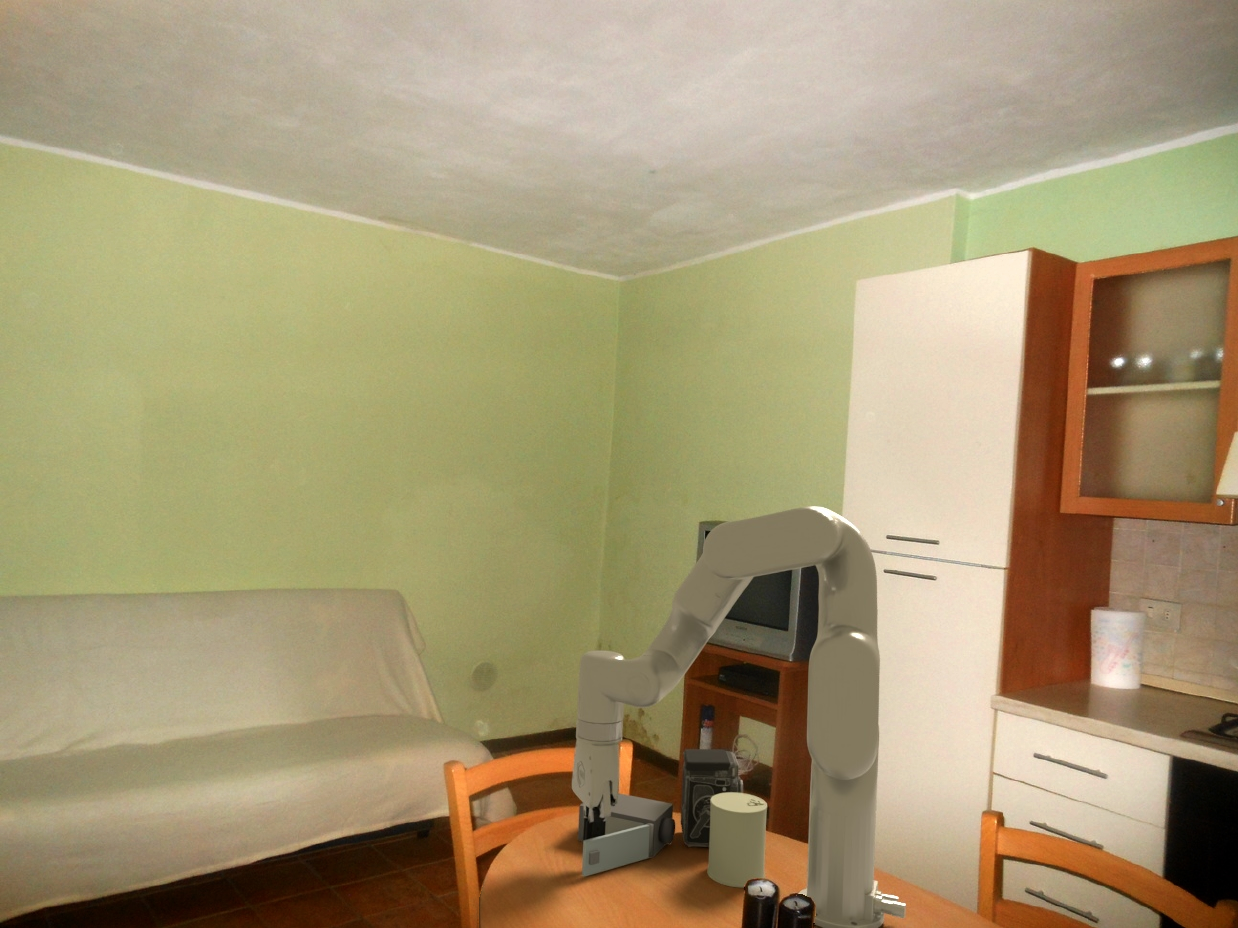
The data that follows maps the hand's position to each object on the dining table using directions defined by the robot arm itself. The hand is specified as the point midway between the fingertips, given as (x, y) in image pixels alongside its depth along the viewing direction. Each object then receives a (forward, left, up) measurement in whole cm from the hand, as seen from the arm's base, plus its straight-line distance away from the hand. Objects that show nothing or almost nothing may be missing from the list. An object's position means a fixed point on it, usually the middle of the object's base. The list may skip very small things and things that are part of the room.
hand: (593, 843), depth 137 cm
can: (-21, -9, -4) cm, 23 cm away
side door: (-4, -2, -3) cm, 5 cm away
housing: (0, -13, -4) cm, 13 cm away
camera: (-14, -20, -4) cm, 24 cm away
